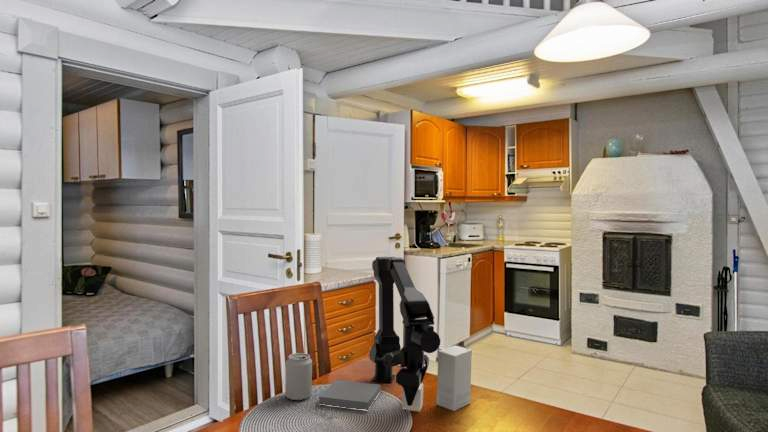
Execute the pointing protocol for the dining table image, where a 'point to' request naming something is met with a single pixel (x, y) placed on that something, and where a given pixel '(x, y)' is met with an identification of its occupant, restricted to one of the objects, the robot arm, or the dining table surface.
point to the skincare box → (454, 377)
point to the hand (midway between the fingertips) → (412, 399)
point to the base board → (350, 394)
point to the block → (417, 400)
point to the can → (298, 376)
